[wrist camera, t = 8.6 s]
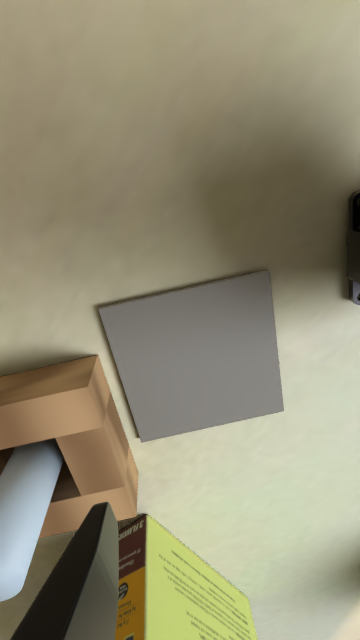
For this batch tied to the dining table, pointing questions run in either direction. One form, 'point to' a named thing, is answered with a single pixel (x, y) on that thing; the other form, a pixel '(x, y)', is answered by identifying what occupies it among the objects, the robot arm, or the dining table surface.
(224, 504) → the dining table surface
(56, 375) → the hole block
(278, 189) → the dining table surface
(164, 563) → the protein box
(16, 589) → the peg
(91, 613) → the robot arm
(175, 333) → the mat
